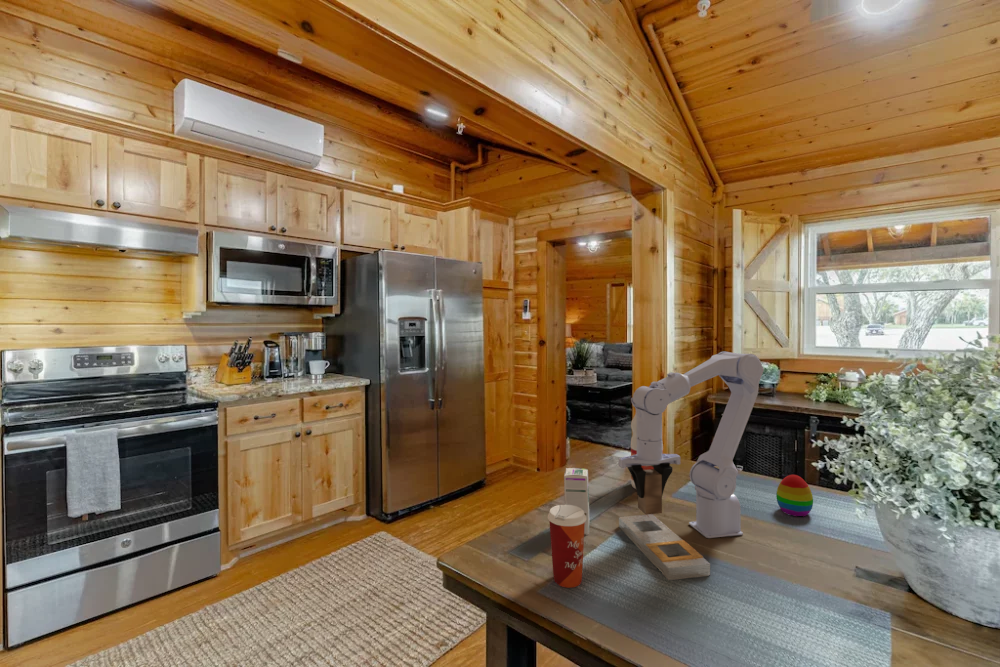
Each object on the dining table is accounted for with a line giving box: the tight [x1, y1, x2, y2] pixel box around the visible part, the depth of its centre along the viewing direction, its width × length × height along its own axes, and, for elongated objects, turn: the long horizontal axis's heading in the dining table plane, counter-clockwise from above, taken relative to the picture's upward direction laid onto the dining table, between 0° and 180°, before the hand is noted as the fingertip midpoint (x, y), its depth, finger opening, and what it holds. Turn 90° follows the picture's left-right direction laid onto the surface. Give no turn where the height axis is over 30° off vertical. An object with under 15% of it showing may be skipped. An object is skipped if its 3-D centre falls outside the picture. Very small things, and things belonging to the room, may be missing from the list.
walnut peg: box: [637, 469, 663, 515], centre depth 109 cm, size 4×4×9 cm
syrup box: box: [563, 467, 590, 536], centre depth 115 cm, size 6×6×14 cm
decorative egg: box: [775, 474, 814, 517], centre depth 122 cm, size 8×8×10 cm
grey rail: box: [618, 514, 711, 581], centre depth 104 cm, size 9×24×3 cm, turn 9°
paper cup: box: [547, 504, 586, 589], centre depth 93 cm, size 8×8×14 cm
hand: (649, 495), depth 108 cm, fingers closed on walnut peg, 4 cm apart
